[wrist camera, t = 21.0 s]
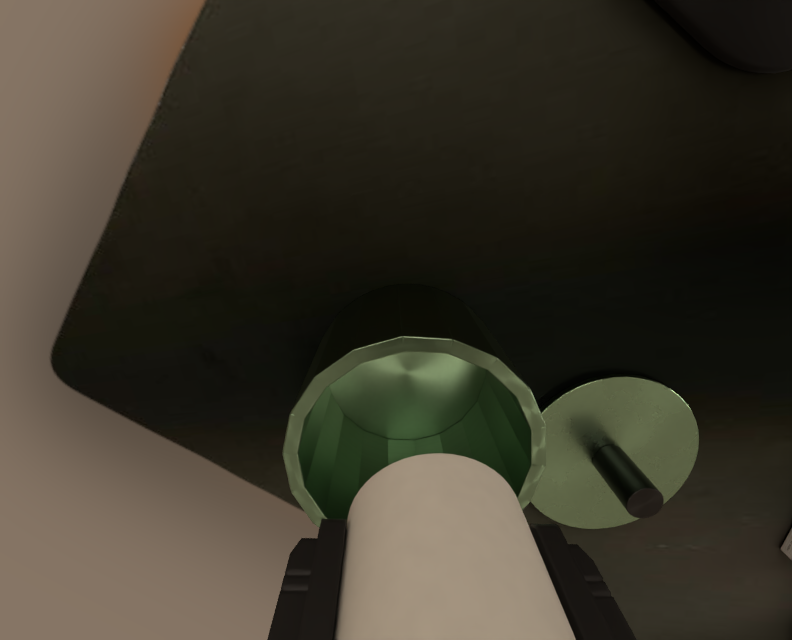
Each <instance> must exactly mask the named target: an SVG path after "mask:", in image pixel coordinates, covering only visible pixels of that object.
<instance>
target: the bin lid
mask: <svg viewBox="0 0 792 640" xmlns="http://www.w3.org/2000/svg"><path fill="white" fill-rule="evenodd" d="M539 410H540V412H541V415H542V417H543V419H544V422H545V424H546V467H545V469H544V471H543V474H542V476H541V478H540V481H539V483H538V485H537V488H536V490H535V492H534V495H533V497H532V499H531V501H530V502H531V503H532V504H533V505H534V506H535V507H536V508H537V509H538V510H539V511H540V512H542V513H543V514H544V515H546V516H547V517H549V518H551V519H552V520H554V521H557V522H559V523H561V524H565V525H568V526H571V527H577V528H585V529H602V528H610V527H616V526H620V525H624V524H627V523H630V522H633V521H635V520H638V519H640V518H647V517H651V516H653V515H654V514H656V513H657V512H658V511H659V510H660V509H661V508H662V506H663V504H665V503H666V502H667V501H668V500H669V499H670V498H671V497H672V496H673V495H674V494H675V493H676V492H677V491H678V490H679V489H680V488H681V486H682V485H683V484H684V482H685V481H686V479H687V478H688V476H689V474H690V472H691V470H692V468H693V466H694V463H695V460H696V457H697V453H698V446H699V433H698V427H697V423H696V419H695V417H694V415H693V413H692V411H691V409H690V408H689V406H688V405H687V403H686V402H685V401H684V400H683V399H682V398H681V397H680V396H679V395H678V394H677V393H675V392H674V391H673V390H671V389H670V388H668V387H667V386H665V385H664V384H662V383H660V382H658V381H656V380H653V379H650V378H647V377H643V376H638V375H632V374H609V375H603V376H597V377H593V378H590V379H586V380H583V381H581V382H579V383H576V384H574V385H572V386H570V387H568V388H566V389H564V390H562V391H561V392H559V393H558V394H557V395H555V396H554V397H552V398H551V399H550V400H549V401H548V402H546V403H545V404H544V405H543V406H542V407H541V408H540V409H539Z"/></svg>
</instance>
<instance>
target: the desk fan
mask: <svg viewBox="0 0 792 640" xmlns="http://www.w3.org/2000/svg"><path fill="white" fill-rule="evenodd" d="M654 1H655V2H656V3H657V4H658V5H659V6H660V7H661V8H662V9H664V10H665V11H666V12H667V13H668V14H669V15H670V16H671V17H672V18H673V19H674V20H675V21H676V22H677V23H678V24H679V25H680V26H681V27H682V28H683V29H684V30H686V31H687V32H688V33H689V34H690V35H691V36H692V37H693V38H694V39H695V40H696V41H697V42H698V43H699V44H700V45H701V46H702V47H703V48H705V49H706V50H707V51H708V52H709V53H711V54H712V55H713V56H714V57H716V58H718V59H719V60H721V61H723V62H724V63H726V64H728V65H731V66H733V67H735V68H738V69H741V70H745V71H748V72H755V73H778V72H785V71H789V70H792V0H654Z"/></svg>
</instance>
